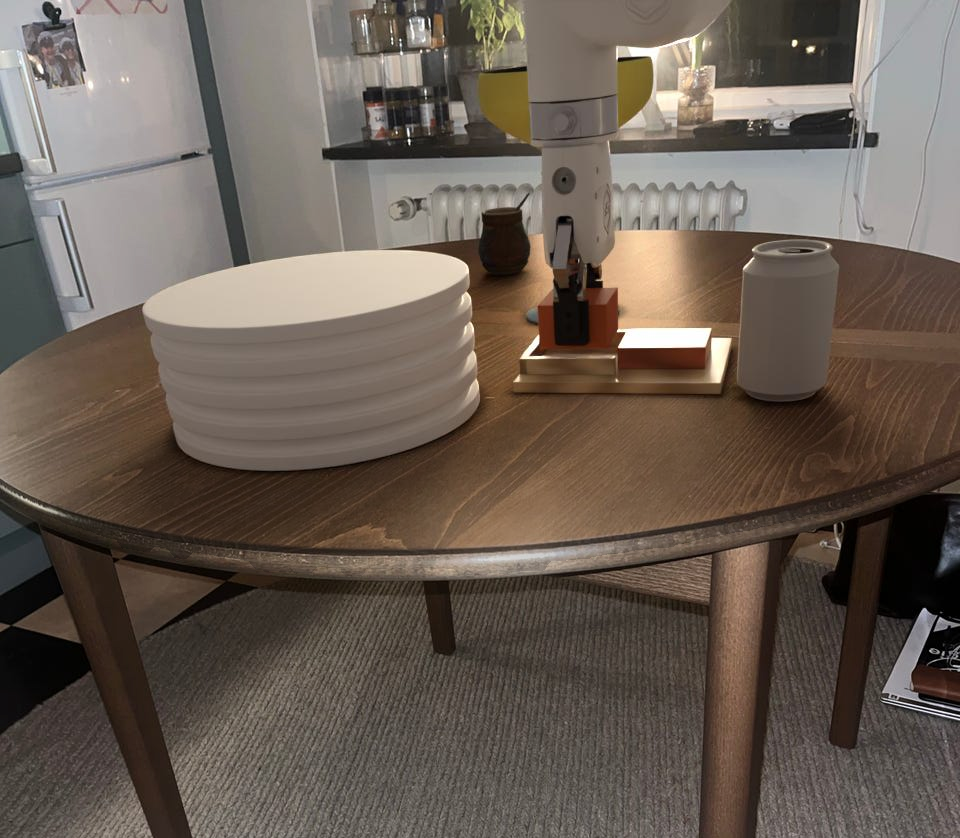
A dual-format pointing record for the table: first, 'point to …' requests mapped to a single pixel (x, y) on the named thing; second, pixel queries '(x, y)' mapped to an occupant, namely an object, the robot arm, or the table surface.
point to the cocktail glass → (510, 101)
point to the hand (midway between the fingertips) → (579, 332)
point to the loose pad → (600, 319)
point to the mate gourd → (504, 240)
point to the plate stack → (316, 358)
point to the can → (787, 319)
